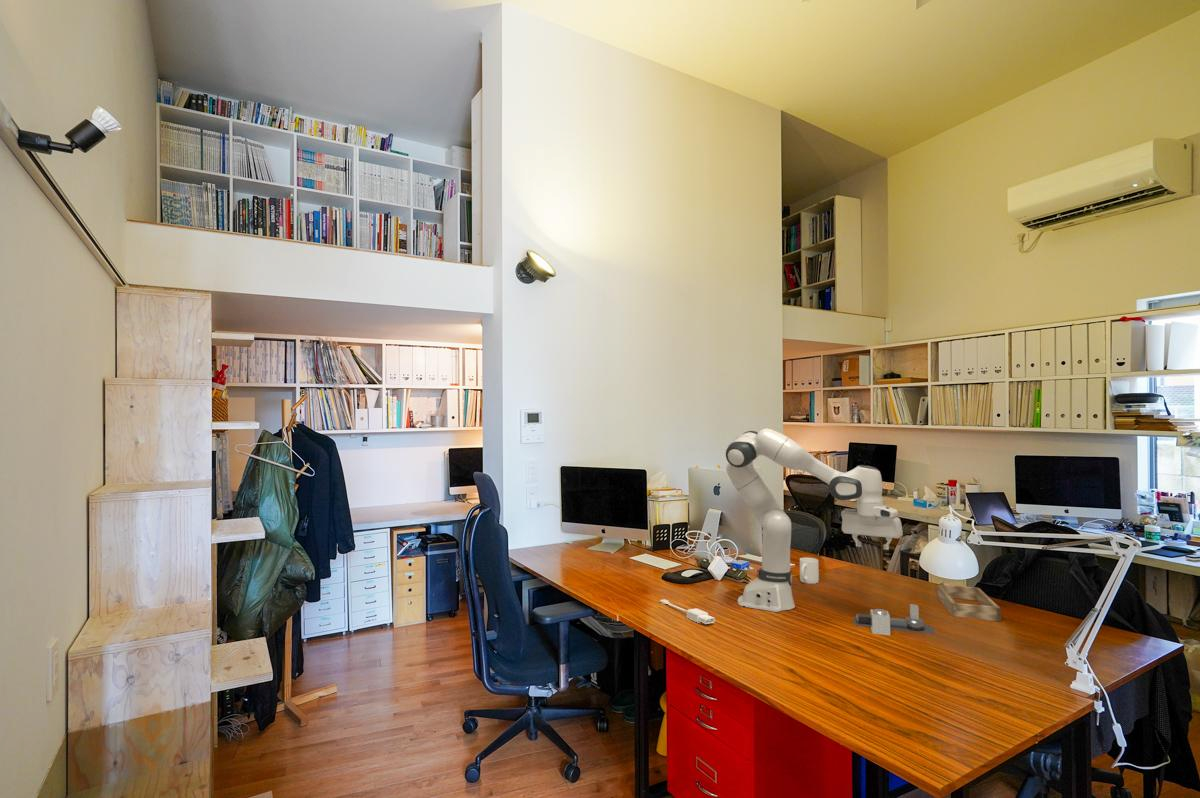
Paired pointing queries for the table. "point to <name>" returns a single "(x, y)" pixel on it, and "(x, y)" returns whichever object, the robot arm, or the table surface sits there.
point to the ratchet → (899, 620)
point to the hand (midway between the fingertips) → (872, 548)
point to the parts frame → (983, 611)
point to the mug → (809, 570)
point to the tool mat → (926, 628)
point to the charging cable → (694, 614)
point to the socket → (880, 621)
